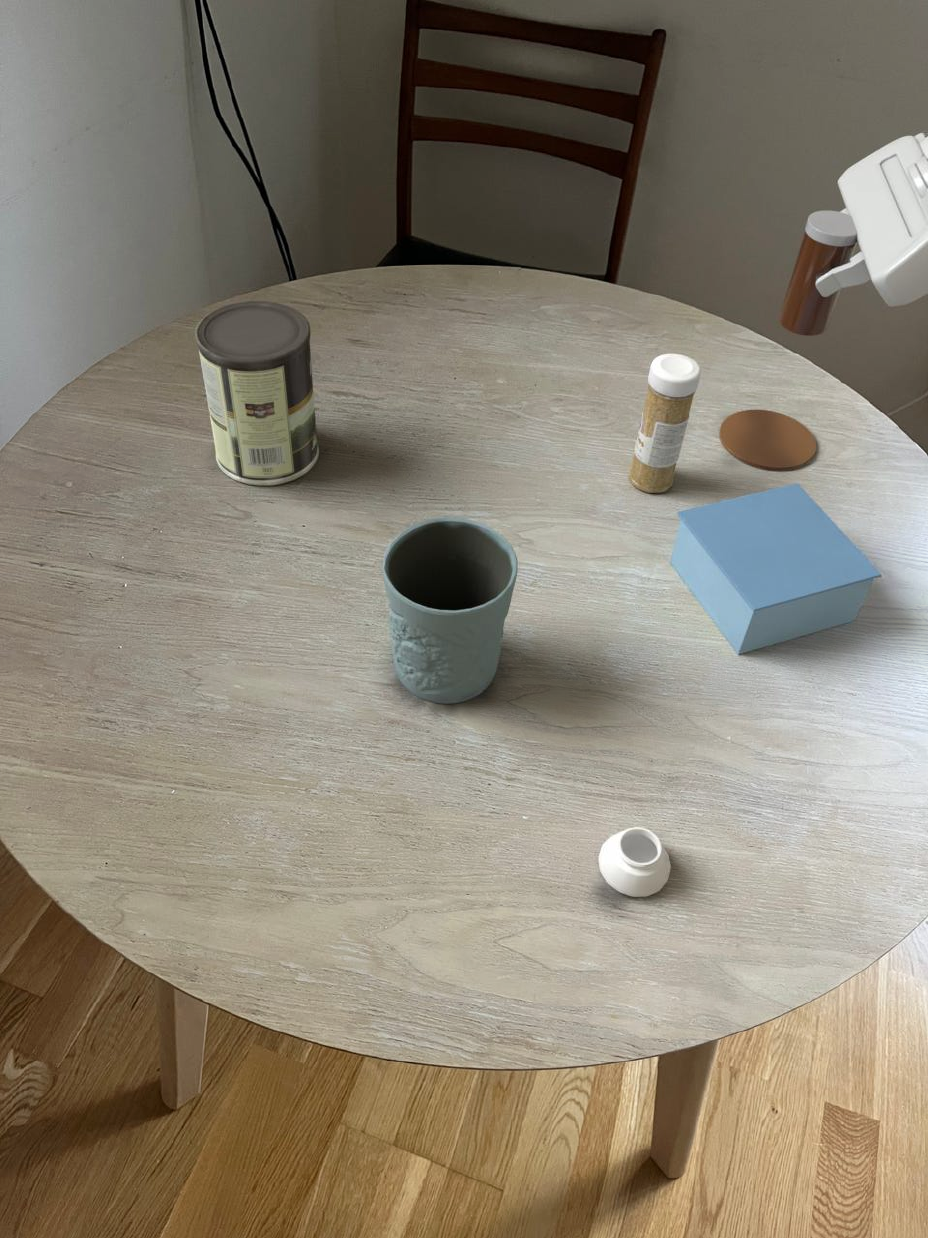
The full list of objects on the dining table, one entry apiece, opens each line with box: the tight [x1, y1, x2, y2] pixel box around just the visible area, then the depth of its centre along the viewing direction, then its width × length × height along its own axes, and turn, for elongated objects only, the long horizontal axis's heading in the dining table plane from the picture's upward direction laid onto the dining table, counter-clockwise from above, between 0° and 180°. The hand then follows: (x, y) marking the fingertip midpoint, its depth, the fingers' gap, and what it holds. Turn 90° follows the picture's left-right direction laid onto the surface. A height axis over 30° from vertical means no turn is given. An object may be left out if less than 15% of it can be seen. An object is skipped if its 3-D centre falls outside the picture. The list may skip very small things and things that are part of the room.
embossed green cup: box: [382, 516, 519, 705], centre depth 82 cm, size 10×10×12 cm
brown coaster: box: [718, 409, 817, 472], centre depth 109 cm, size 10×10×1 cm
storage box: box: [669, 482, 883, 655], centre depth 92 cm, size 13×13×6 cm
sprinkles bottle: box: [628, 353, 702, 494], centre depth 99 cm, size 5×5×13 cm
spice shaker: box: [778, 209, 858, 337], centre depth 96 cm, size 5×5×10 cm
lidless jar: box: [598, 826, 672, 898], centre depth 73 cm, size 5×3×5 cm
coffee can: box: [194, 300, 320, 487], centre depth 99 cm, size 10×10×14 cm
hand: (813, 271), depth 95 cm, fingers closed on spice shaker, 4 cm apart
